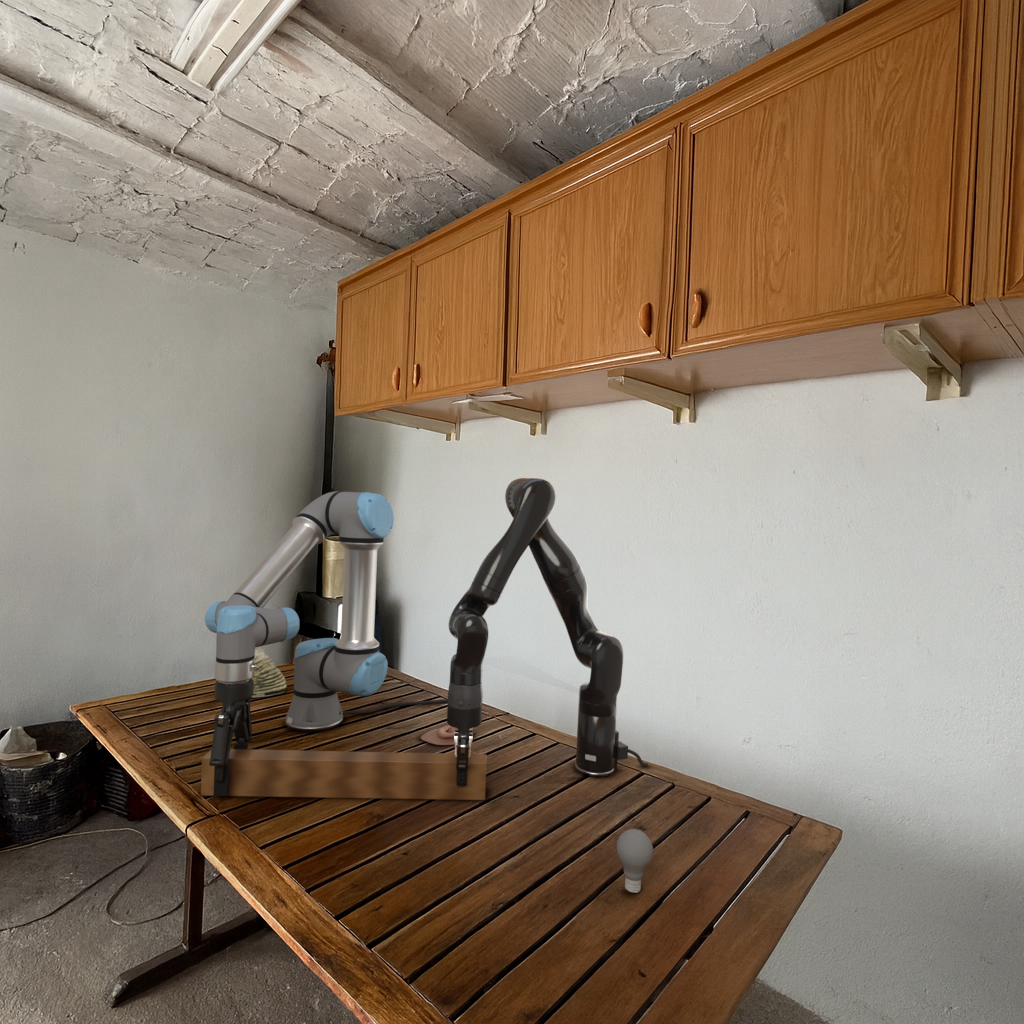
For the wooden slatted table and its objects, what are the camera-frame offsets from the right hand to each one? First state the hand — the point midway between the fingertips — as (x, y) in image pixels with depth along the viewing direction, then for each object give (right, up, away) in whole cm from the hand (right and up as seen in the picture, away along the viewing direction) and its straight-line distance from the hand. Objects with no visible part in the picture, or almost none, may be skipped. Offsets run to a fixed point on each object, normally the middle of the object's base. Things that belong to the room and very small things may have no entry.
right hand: (461, 779), depth 138 cm
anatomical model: (-6, -2, +32) cm, 32 cm away
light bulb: (+31, -5, -32) cm, 45 cm away
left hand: (-49, 0, -3) cm, 49 cm away
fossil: (-70, +1, +60) cm, 92 cm away
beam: (-25, -2, -1) cm, 25 cm away
